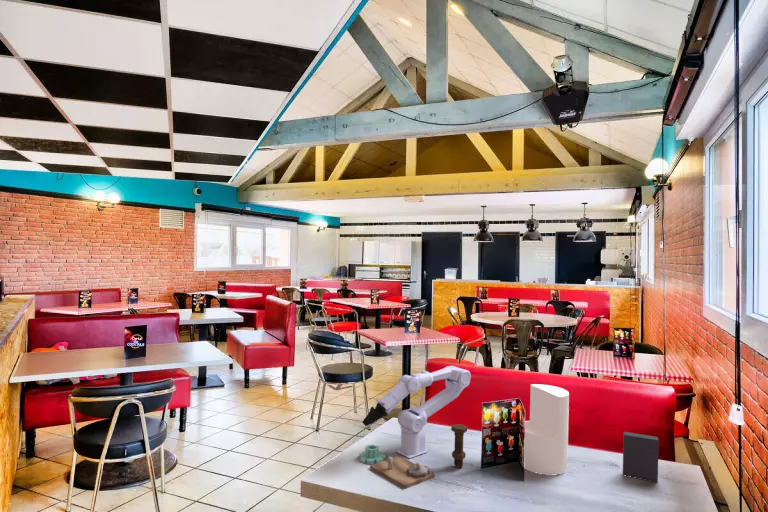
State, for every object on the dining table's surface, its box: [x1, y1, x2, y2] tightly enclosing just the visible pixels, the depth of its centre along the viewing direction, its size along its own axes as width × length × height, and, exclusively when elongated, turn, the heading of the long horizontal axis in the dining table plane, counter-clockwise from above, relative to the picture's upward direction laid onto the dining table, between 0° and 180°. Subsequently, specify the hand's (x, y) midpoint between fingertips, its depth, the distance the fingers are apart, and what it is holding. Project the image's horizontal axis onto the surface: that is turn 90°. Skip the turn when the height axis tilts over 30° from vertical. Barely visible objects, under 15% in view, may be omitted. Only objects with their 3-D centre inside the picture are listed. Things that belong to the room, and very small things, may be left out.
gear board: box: [369, 455, 436, 490], centre depth 173 cm, size 14×19×5 cm
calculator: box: [622, 431, 660, 483], centre depth 173 cm, size 11×4×15 cm, turn 65°
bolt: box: [450, 423, 468, 469], centre depth 179 cm, size 6×5×15 cm
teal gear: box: [358, 444, 386, 465], centre depth 185 cm, size 10×10×4 cm
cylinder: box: [524, 383, 570, 475], centre depth 182 cm, size 17×17×28 cm
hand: (366, 423), depth 180 cm, fingers open, 7 cm apart
